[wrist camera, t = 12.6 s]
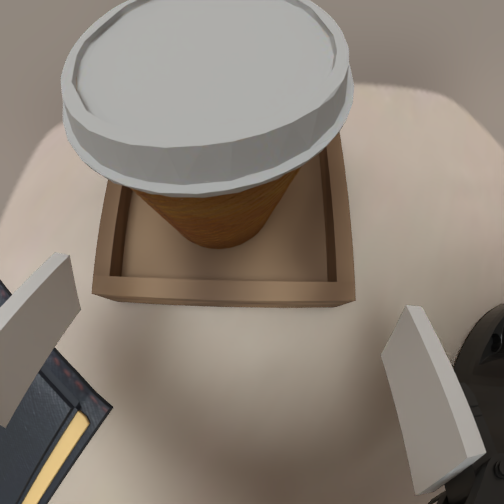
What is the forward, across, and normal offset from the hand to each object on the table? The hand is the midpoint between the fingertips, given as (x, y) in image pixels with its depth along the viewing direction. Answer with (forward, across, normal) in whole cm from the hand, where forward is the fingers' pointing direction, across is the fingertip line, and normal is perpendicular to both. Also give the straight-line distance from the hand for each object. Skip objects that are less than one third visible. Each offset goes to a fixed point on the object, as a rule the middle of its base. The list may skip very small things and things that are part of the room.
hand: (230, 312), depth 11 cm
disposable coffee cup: (+9, -2, +1) cm, 9 cm away
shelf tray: (+11, -2, 0) cm, 11 cm away
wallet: (-2, -18, -15) cm, 24 cm away
